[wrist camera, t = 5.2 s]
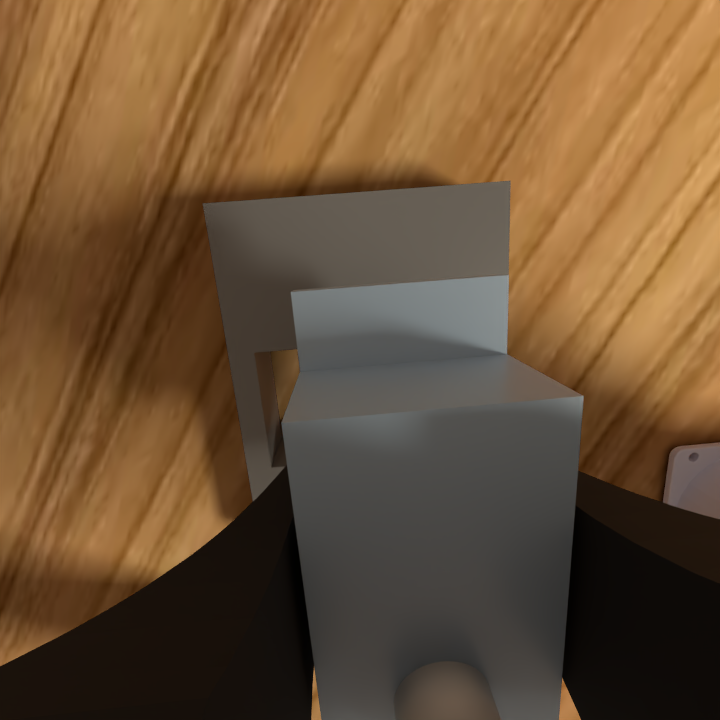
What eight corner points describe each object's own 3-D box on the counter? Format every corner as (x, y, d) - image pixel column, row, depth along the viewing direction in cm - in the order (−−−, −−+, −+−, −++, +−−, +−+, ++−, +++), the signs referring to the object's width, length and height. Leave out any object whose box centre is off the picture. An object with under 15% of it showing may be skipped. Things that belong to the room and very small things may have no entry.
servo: (452, 270, 10) (643, 284, 4) (456, 571, 13) (576, 888, 6) (307, 282, 10) (251, 315, 4) (339, 583, 13) (338, 919, 6)
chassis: (480, 195, 17) (510, 180, 14) (480, 512, 21) (502, 553, 18) (227, 214, 16) (202, 203, 13) (276, 532, 20) (265, 577, 17)
